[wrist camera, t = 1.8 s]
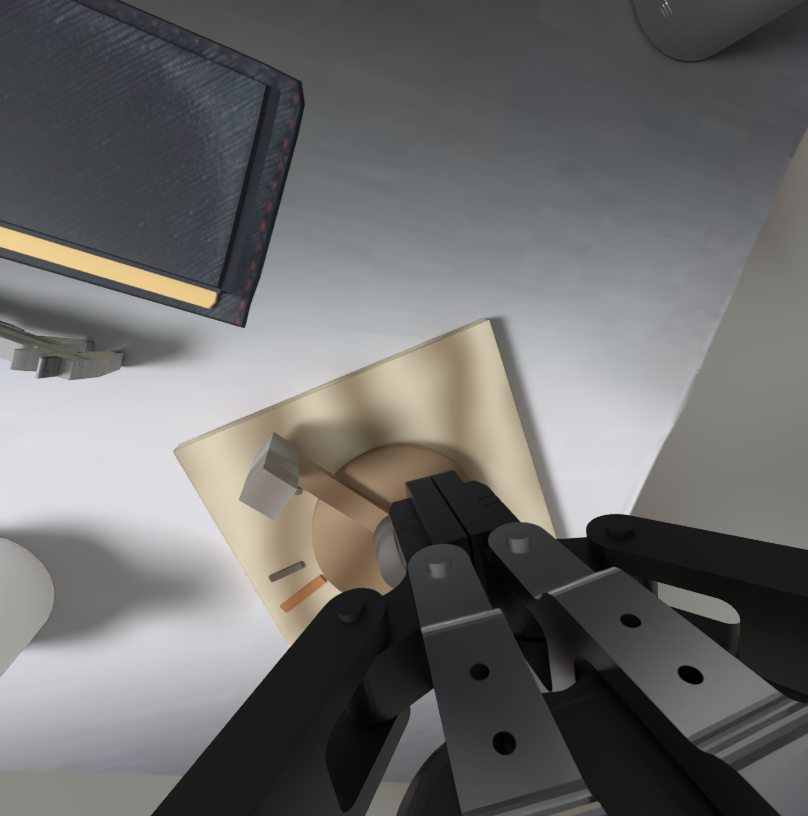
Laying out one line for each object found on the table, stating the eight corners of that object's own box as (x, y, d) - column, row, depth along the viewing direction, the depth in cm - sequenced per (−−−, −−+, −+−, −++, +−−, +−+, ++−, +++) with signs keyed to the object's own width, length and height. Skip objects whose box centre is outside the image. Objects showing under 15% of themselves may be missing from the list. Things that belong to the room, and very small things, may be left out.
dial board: (481, 318, 31) (490, 320, 29) (557, 563, 37) (568, 575, 36) (179, 444, 29) (171, 452, 27) (316, 678, 35) (317, 696, 34)
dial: (509, 502, 33) (559, 555, 26) (409, 622, 34) (433, 703, 27) (322, 364, 27) (325, 387, 21) (210, 511, 28) (179, 577, 22)
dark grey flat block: (312, 77, 24) (239, 340, 27) (312, 92, 26) (244, 337, 29) (-141, -146, 19) (-178, 209, 21) (-101, -107, 21) (-139, 215, 23)
